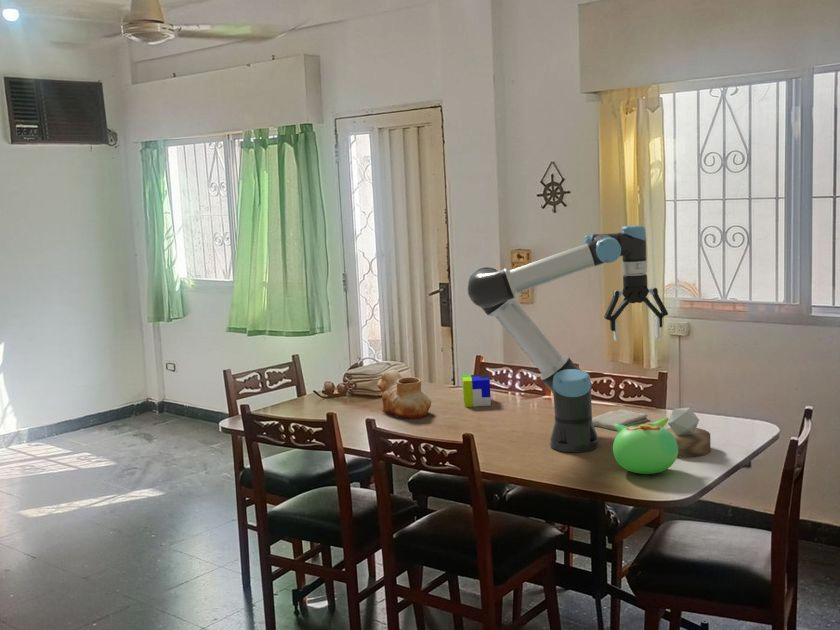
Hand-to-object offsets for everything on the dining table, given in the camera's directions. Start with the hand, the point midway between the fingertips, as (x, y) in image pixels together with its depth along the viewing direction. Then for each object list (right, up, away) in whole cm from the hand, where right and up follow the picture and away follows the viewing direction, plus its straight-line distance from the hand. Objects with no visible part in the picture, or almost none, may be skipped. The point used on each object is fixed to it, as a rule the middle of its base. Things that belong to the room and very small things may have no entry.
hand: (636, 339), depth 295 cm
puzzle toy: (-48, -26, +54) cm, 77 cm away
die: (+10, -28, -18) cm, 35 cm away
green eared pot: (-6, -37, -35) cm, 51 cm away
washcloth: (-2, -29, +16) cm, 34 cm away
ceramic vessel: (-76, -29, +48) cm, 95 cm away
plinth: (+10, -33, -18) cm, 39 cm away
